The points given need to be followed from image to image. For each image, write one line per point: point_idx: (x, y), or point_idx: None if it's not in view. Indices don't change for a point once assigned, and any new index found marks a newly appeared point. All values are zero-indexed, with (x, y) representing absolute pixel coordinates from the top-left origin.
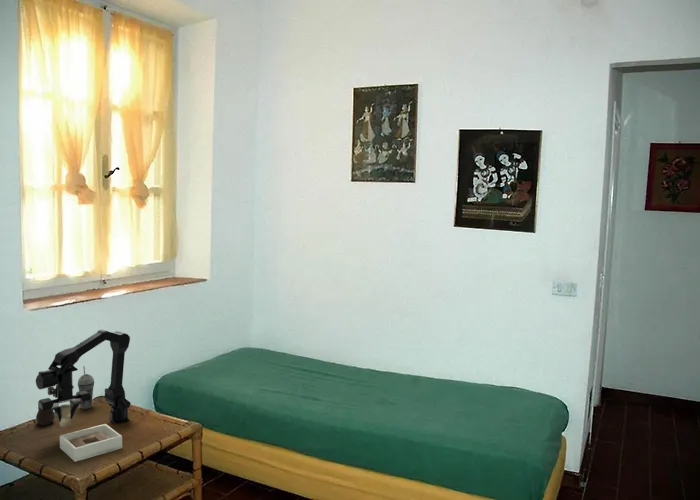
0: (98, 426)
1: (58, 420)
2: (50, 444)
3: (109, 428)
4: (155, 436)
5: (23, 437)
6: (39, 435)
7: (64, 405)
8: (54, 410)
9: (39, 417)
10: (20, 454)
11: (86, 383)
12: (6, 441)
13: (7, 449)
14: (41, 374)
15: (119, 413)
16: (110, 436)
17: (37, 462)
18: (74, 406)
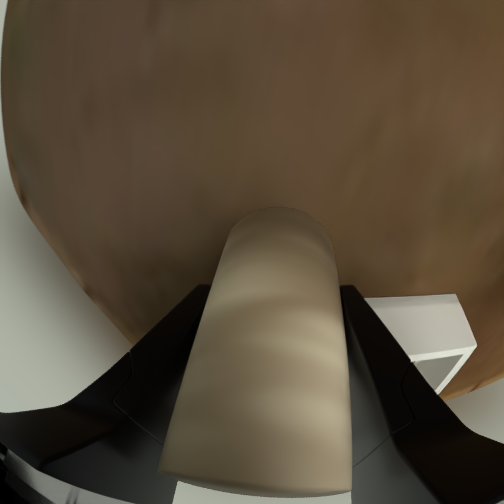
0: (435, 358)
1: (195, 290)
2: (178, 232)
3: (437, 388)
4: (499, 364)
5: (54, 45)
6: (130, 42)
7: (252, 488)
8: (95, 399)
9: None
10: (65, 256)
11: None
12: (2, 78)
13: (15, 177)
14: None
15: None
16: (425, 364)
17: (135, 343)
18: (355, 495)
